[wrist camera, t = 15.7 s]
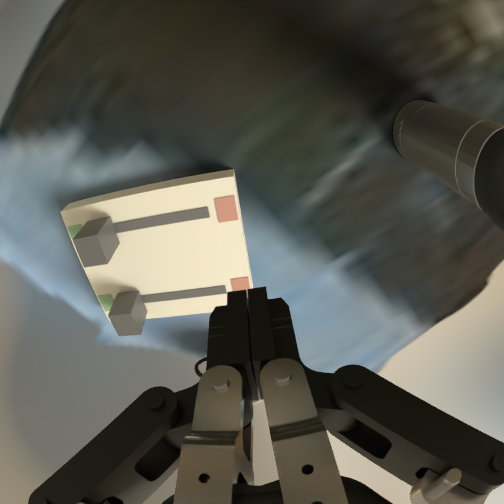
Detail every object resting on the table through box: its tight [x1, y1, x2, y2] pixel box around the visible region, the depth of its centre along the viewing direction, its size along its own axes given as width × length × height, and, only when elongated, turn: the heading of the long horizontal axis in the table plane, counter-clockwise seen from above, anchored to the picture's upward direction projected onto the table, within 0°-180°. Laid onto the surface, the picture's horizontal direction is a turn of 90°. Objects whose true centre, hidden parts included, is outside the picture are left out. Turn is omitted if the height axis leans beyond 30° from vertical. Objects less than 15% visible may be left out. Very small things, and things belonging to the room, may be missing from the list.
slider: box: [108, 291, 147, 336], centre depth 42 cm, size 4×4×5 cm
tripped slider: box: [72, 216, 120, 268], centre depth 36 cm, size 4×4×5 cm
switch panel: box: [61, 169, 253, 322], centre depth 43 cm, size 24×20×3 cm
